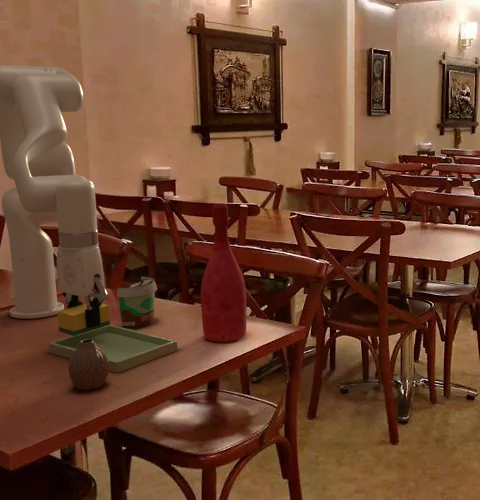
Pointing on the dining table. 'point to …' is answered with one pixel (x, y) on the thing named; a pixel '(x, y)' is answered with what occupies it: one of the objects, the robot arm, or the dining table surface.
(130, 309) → the food container
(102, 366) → the vase
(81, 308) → the sponge
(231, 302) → the wine bottle
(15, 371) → the dining table surface
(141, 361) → the tray
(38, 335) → the dining table surface
